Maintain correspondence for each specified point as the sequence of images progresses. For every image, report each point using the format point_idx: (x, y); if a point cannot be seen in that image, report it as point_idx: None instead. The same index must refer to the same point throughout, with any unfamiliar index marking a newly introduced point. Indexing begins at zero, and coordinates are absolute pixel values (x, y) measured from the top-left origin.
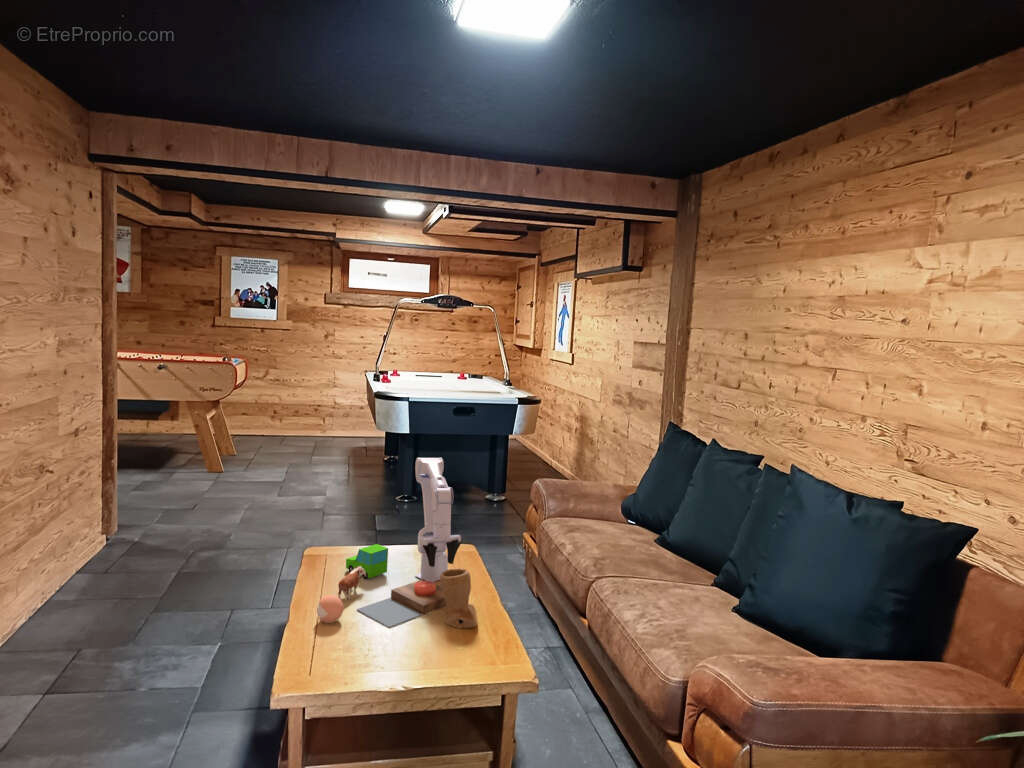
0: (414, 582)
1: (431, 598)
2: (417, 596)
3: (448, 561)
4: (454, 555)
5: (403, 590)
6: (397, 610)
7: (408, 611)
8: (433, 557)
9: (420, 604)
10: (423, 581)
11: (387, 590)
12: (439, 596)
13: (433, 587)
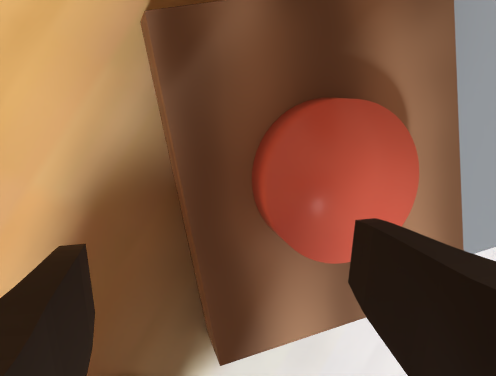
0: (301, 333)
1: (351, 43)
2: (404, 124)
3: (92, 318)
4: (15, 299)
5: None
6: (492, 103)
7: (460, 59)
8: (462, 256)
9: (452, 6)
10: (321, 248)
11: (388, 362)
12: (287, 40)
13: (322, 109)
